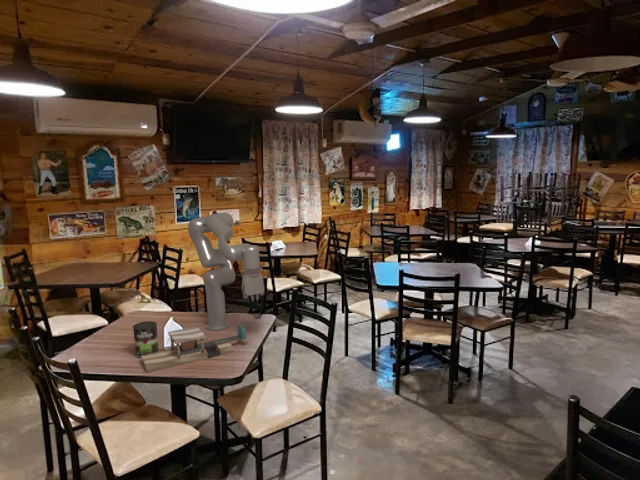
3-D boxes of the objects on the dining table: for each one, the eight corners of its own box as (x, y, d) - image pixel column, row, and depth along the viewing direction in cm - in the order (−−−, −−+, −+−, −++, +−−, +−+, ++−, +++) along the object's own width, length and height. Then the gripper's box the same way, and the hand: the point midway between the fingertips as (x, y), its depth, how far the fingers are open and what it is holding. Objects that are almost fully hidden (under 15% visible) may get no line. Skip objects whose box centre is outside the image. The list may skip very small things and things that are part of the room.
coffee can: (158, 356, 207) (155, 327, 205) (134, 359, 204) (131, 329, 202) (160, 348, 217) (157, 320, 214) (137, 351, 214) (134, 322, 212)
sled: (175, 349, 206) (174, 336, 205) (240, 334, 222) (240, 323, 221) (180, 355, 199) (179, 342, 198) (247, 340, 214) (246, 328, 213)
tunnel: (141, 361, 202) (139, 337, 200) (223, 343, 221) (222, 321, 219) (147, 373, 190) (144, 348, 188) (233, 352, 209) (232, 329, 207)
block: (180, 350, 205) (180, 339, 205) (191, 347, 208) (191, 337, 207) (183, 353, 201) (182, 343, 200) (194, 351, 204) (194, 340, 203)
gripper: (263, 267, 223) (265, 303, 226) (234, 272, 215) (237, 309, 218) (269, 270, 217) (271, 307, 219) (240, 274, 209) (242, 313, 212)
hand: (254, 308), depth 219 cm, fingers closed
